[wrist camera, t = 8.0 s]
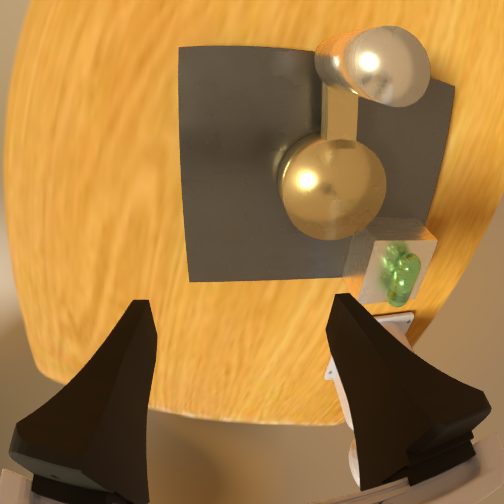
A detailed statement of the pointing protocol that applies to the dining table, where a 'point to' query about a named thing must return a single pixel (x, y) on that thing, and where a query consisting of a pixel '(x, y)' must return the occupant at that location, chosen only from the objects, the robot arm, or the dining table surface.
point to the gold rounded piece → (349, 130)
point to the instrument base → (267, 168)
